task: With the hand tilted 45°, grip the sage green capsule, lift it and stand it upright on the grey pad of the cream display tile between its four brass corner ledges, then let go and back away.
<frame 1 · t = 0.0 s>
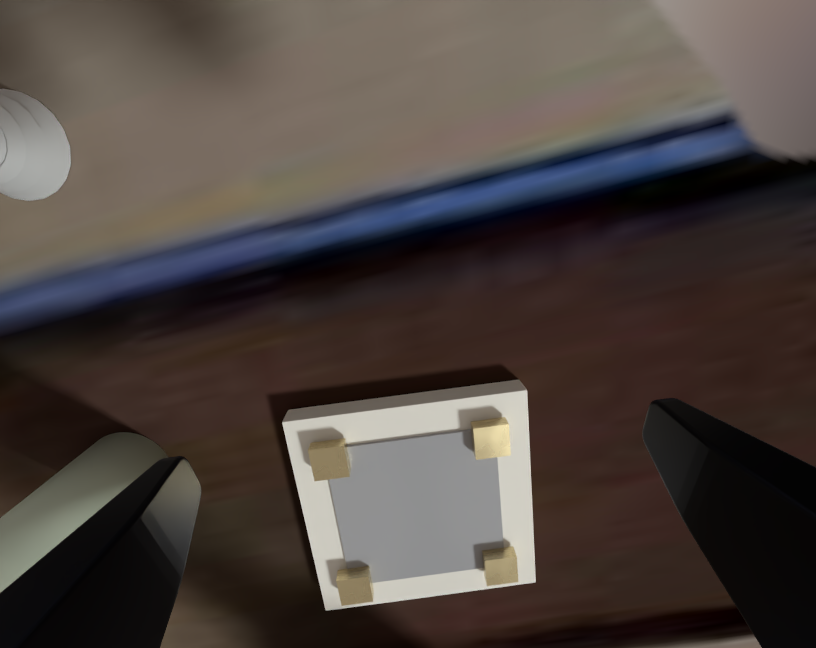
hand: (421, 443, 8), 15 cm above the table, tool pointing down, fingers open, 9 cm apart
sage green capsule: (130, 468, 25), on the table
chalice: (20, 147, 20), on the table
display tile: (417, 492, 26), on the table
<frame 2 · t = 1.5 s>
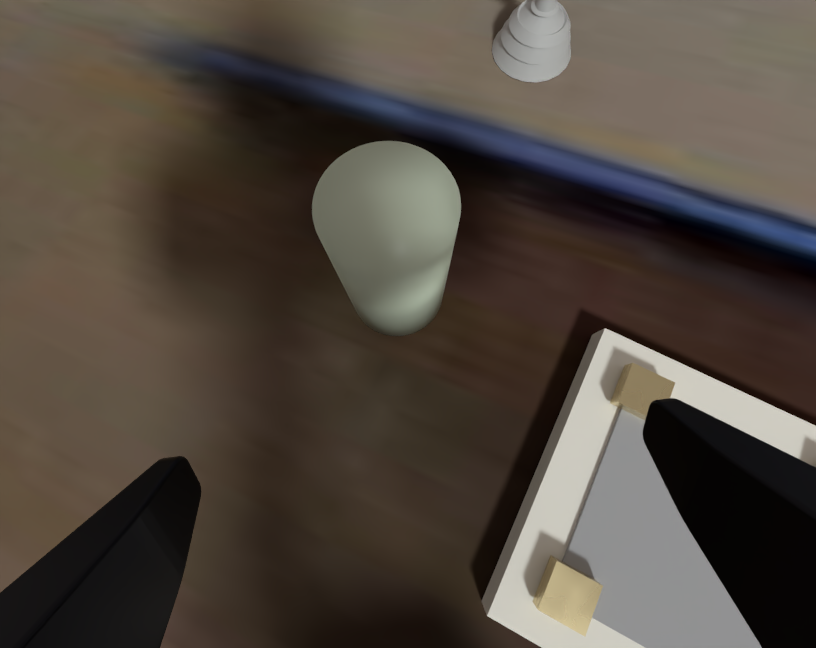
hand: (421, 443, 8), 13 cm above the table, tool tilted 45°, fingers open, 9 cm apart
sage green capsule: (397, 291, 22), on the table
chalice: (530, 52, 26), on the table
display tile: (678, 529, 19), on the table
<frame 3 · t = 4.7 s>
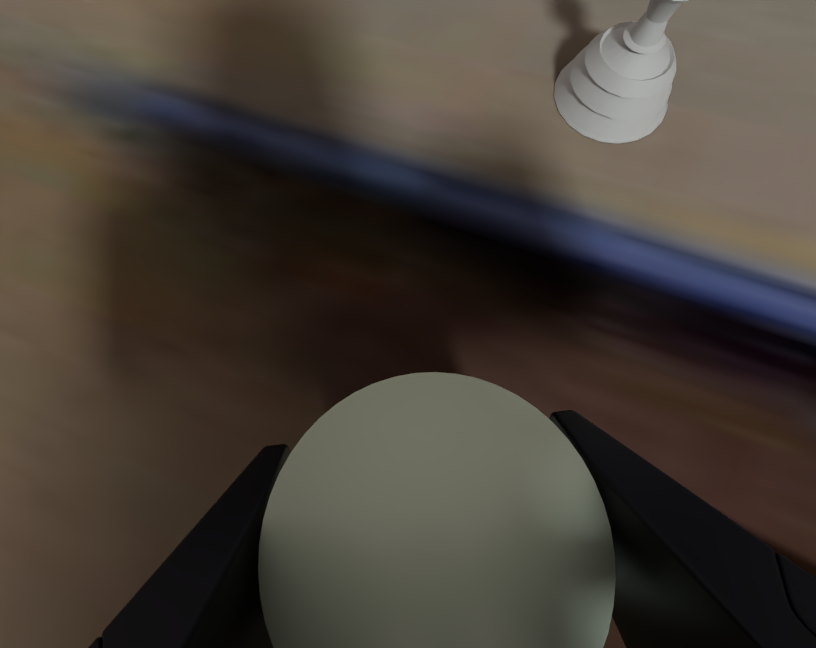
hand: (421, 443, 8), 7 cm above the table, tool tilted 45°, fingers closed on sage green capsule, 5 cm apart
sage green capsule: (422, 477, 14), on the table, touching gripper
chalice: (608, 98, 19), on the table
when the fingers open (9 cm above the table, at t = 9.3 s): sage green capsule stays where it is, resting on display tile.
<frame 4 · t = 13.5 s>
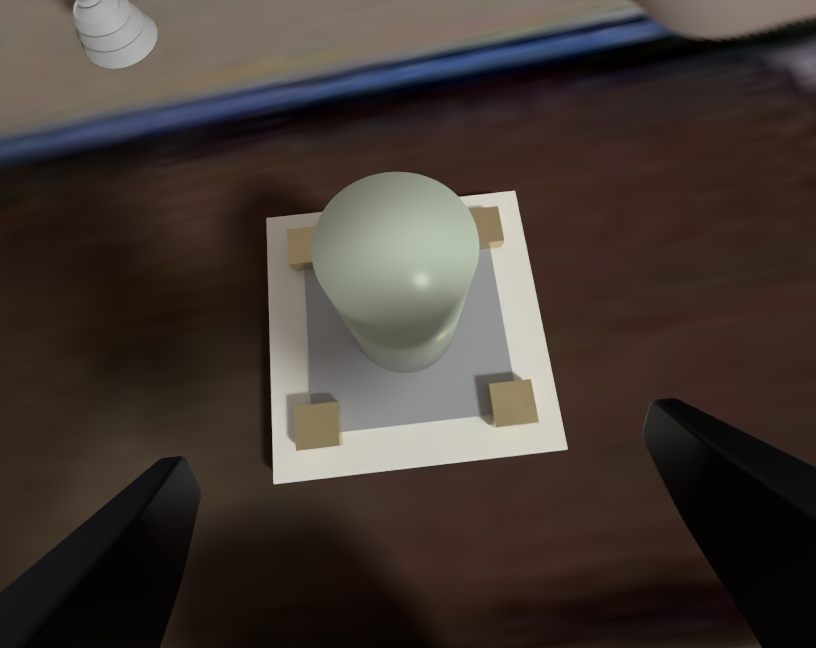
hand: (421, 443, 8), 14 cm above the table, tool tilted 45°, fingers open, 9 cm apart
sage green capsule: (404, 324, 21), point 2 cm above the table, touching display tile
chalice: (123, 41, 28), on the table
display tile: (405, 331, 22), on the table
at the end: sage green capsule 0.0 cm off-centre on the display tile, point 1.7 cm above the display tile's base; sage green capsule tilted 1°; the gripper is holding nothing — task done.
